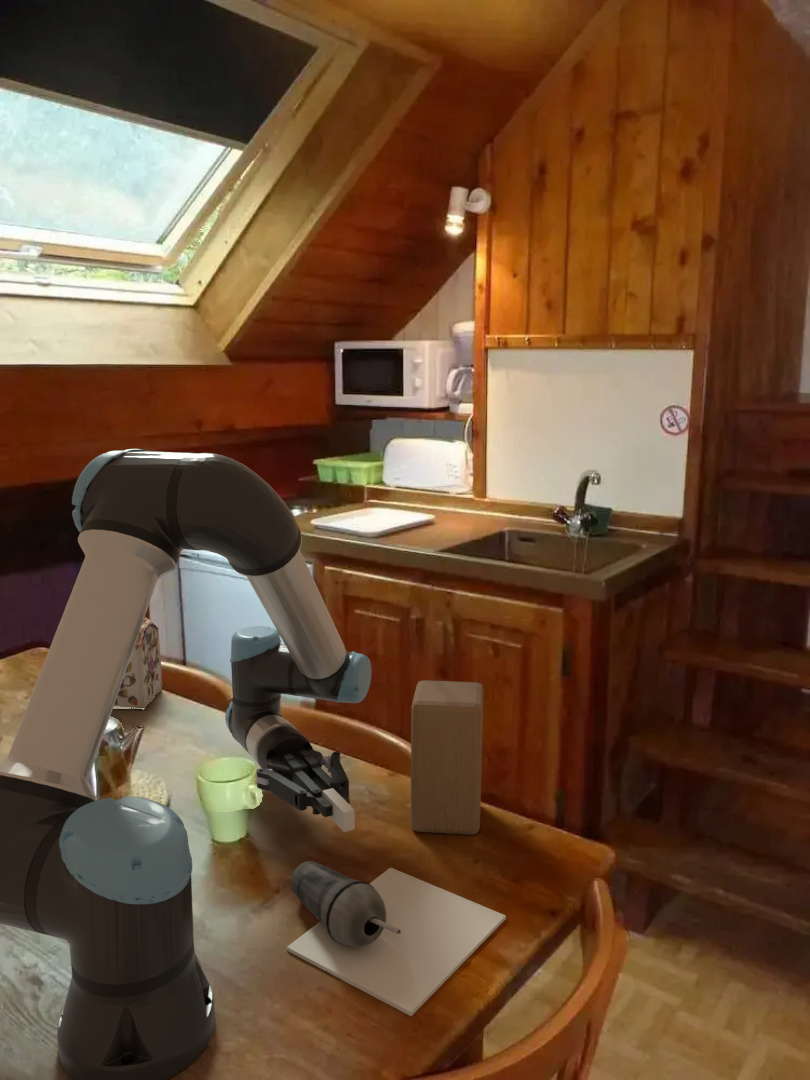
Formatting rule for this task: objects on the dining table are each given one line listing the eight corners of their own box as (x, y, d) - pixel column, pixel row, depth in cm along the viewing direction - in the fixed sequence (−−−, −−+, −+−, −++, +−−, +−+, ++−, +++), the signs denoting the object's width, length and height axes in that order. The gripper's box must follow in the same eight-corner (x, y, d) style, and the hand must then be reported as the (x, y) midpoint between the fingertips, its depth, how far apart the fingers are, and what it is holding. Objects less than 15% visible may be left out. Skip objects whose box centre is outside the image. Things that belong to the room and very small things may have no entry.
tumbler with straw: (270, 899, 108) (355, 968, 91) (297, 842, 110) (384, 900, 93) (316, 915, 112) (404, 984, 95) (340, 859, 113) (432, 918, 97)
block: (480, 803, 135) (483, 680, 131) (479, 837, 125) (482, 706, 121) (415, 799, 136) (417, 677, 132) (409, 833, 126) (410, 702, 122)
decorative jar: (107, 687, 181) (102, 603, 178) (163, 689, 181) (159, 604, 177) (84, 710, 170) (78, 621, 166) (144, 711, 169) (139, 622, 166)
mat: (411, 1016, 91) (411, 1012, 91) (287, 950, 101) (286, 946, 101) (505, 919, 107) (505, 915, 107) (390, 870, 117) (390, 867, 117)
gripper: (320, 763, 134) (394, 835, 114) (238, 782, 128) (301, 862, 108) (319, 717, 133) (394, 781, 112) (236, 734, 126) (300, 805, 106)
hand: (349, 820), depth 110 cm, fingers closed
